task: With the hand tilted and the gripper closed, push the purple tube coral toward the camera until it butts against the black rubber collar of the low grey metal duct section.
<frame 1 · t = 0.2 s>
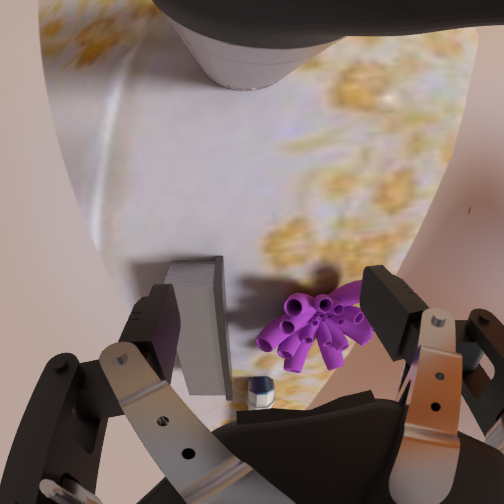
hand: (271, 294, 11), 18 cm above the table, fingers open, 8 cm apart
white handheld device: (256, 412, 47), on the table
purple tube coral: (311, 310, 35), on the table
duct section: (201, 323, 35), on the table
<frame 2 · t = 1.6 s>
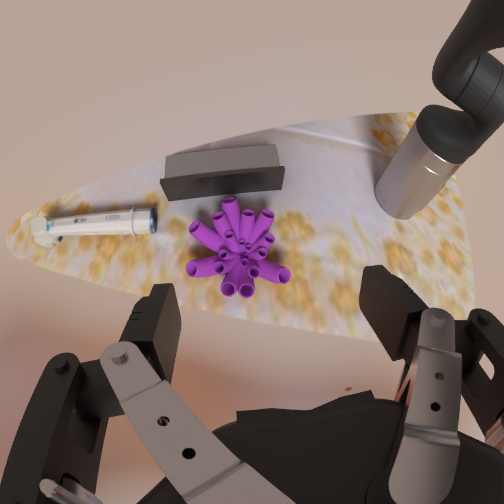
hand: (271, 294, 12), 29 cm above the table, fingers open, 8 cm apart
white handheld device: (94, 232, 45), on the table
purple tube coral: (236, 255, 43), on the table
duct section: (223, 178, 48), on the table
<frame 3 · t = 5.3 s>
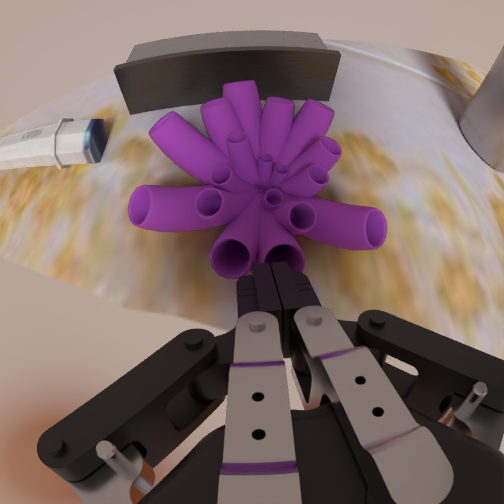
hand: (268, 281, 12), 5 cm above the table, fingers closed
white handheld device: (16, 172, 21), on the table
purple tube coral: (249, 197, 20), on the table, touching gripper
duct section: (227, 82, 25), on the table
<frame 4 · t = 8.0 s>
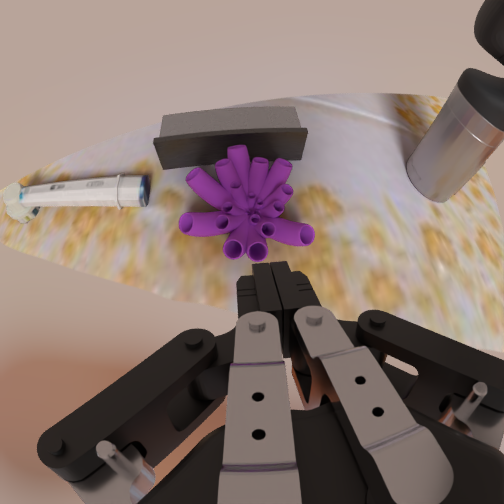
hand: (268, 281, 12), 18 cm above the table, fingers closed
white handheld device: (74, 206, 35), on the table
purple tube coral: (242, 216, 34), on the table
duct section: (230, 145, 38), on the table
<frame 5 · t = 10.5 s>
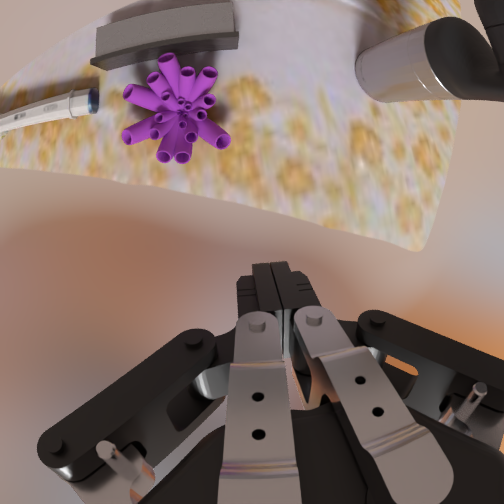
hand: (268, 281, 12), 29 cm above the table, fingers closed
white handheld device: (38, 115, 32), on the table
purple tube coral: (177, 109, 34), on the table
duct section: (168, 37, 29), on the table
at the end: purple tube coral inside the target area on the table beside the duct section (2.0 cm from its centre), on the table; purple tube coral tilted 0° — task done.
